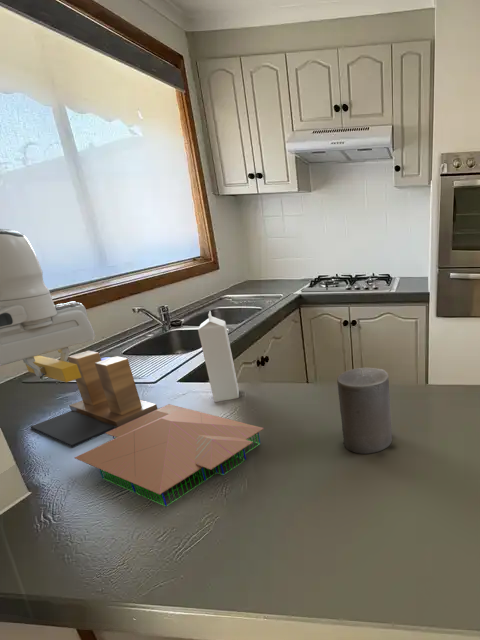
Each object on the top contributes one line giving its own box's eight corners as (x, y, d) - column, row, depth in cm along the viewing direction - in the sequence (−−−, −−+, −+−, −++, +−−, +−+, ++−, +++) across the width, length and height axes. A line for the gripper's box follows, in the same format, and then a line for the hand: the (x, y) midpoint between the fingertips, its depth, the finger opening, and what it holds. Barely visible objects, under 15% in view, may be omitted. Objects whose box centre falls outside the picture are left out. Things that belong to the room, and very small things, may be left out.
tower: (157, 409, 104) (142, 356, 99) (117, 427, 96) (98, 370, 91) (110, 395, 115) (94, 346, 110) (70, 410, 108) (52, 358, 103)
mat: (115, 428, 96) (114, 426, 96) (72, 447, 89) (71, 445, 89) (72, 412, 106) (71, 410, 106) (31, 428, 99) (30, 426, 99)
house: (175, 516, 65) (162, 471, 63) (67, 467, 82) (53, 429, 79) (276, 445, 84) (270, 408, 81) (172, 416, 100) (163, 384, 97)
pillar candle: (333, 443, 83) (324, 372, 77) (367, 424, 89) (361, 357, 84) (369, 460, 76) (362, 383, 71) (403, 438, 83) (399, 366, 78)
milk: (214, 402, 106) (194, 316, 98) (215, 393, 111) (196, 311, 103) (239, 398, 107) (221, 313, 99) (239, 389, 113) (222, 308, 105)
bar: (81, 377, 89) (76, 364, 88) (66, 382, 87) (61, 369, 86) (43, 367, 99) (38, 355, 98) (28, 371, 96) (23, 359, 95)
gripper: (75, 299, 97) (94, 355, 102) (-39, 321, 81) (-9, 387, 86) (89, 300, 94) (108, 358, 99) (-27, 323, 78) (3, 391, 83)
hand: (52, 372), depth 93 cm, fingers closed on bar, 3 cm apart
